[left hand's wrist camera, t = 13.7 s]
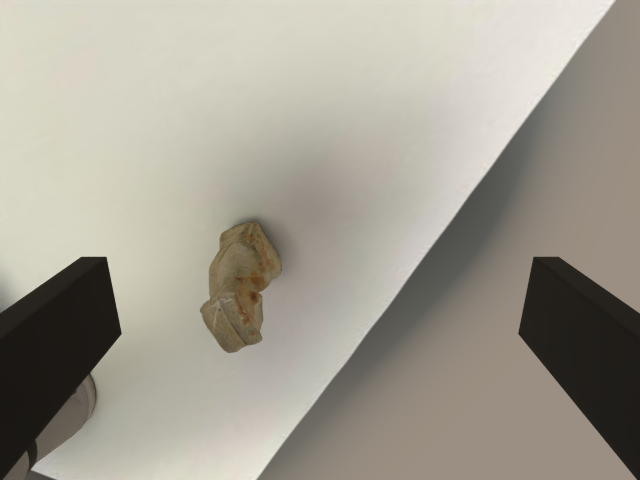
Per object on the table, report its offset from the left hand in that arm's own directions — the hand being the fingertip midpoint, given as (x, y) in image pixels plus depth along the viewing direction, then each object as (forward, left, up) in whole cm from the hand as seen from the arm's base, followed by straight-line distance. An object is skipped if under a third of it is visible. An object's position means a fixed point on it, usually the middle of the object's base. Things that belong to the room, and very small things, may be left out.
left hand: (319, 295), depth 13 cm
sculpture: (-12, +1, -30) cm, 33 cm away
